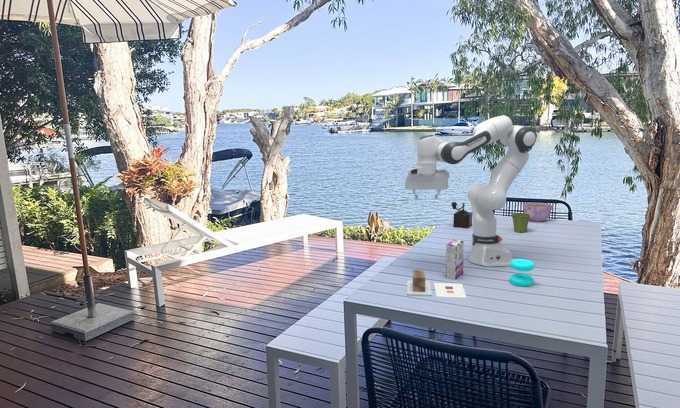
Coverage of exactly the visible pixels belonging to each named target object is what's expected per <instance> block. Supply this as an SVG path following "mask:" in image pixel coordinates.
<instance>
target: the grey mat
mask: <svg viewBox="0 0 680 408" xmlns="http://www.w3.org/2000/svg"><path fill="white" fill-rule="evenodd" d="M432 295H433V294H432V287H431V282H430V280H425V292H417V291H413V280H406V296H409V297H410V296H412V297H413V296H414V297H433V296H432Z"/></svg>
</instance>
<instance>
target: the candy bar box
mask: <svg viewBox="0 0 680 408" xmlns="http://www.w3.org/2000/svg"><path fill="white" fill-rule="evenodd" d="M464 242H465V241H464V239H457V238H454V239H452V240H450V242H448V243H447V244H446V259H445V260H446V267H445V268H446V269H445V271H446V273H445V274H446V277H445V278H446V279H450V280H458V279H459V277H461V276H462V274H464V247H465V246H464V245H465V244H464Z"/></svg>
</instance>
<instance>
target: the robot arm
mask: <svg viewBox="0 0 680 408" xmlns="http://www.w3.org/2000/svg"><path fill="white" fill-rule="evenodd" d="M537 138H538V137H537V132H536V131H535V130H534V129H533V128H531V127H529V126H523V125H518V124H516V125H513V121H512V120H511V118H510V116H508V115H504V114H503V115H498V116H495V117H491V118H489V119H486V120H484V121H481V122H480V123H478V124H477V125H475V126H474V128H473V131H472V136H470V137H469V138H466V139H464V140H463V141H445V140H443V139H440V138H438V137H437V136H436V135H435V134H426V135H423V136H421V137H419V139H418V142H417V162H416V165H417V166H414V167H410V168H408V169H407V173H408V174H407V175H406V177H405V182H404V188H405V189H406V190H408V191H409V190H412V194H413V195H414V199H415V200H418V199H419V195H418V194H416V190H423V191H424V190H426V191H427V190H429V191H430V190H431V191H432V190H435V191H436V190H437V192H436V194H434V200H439V195H440V194H441V191H442V190H448V189H449V178H450V172H449V170H446V169H437V162H440V163H446V164H449V165H457V164H460V163H461V162H462V161H463V160H464V159H465V158H466V157H467V156H468V155H469V154H471V153H473V152H475V151H477V150H479V149H480V148H482V147H484V146H486V145H490V144H493V143H495V142H497V143H498V144H500V145H501V146H503V147H507V151H506V154H505V155H504V156H503V157H502V158H501V159H500V160H499V161H498V163H497V164H496V166H495V167H494V168H493V170H492V171H491V173H490V176H491V177H490V179H489V181H488V183H487V184H474V185H472V186H471V187H469V189H468V191H467V195H466V196H467V198H468V201H469V202H470V203H469V204H470V207H471V212H472V221H473V222H472V226H473V231H472V235H471V245H472V246H471V251H470V252H471V253H470V256H469V259H468V261H469V262H470V263H472V264H475V265H480V266H483V267H487V268H488V267H489V268H490V267H511V266H510V262H511V261H512V260H514V258H513V257H512V255H511V250H510V249H509V248H508V247H507V246H505V245H504V244H503V243H501V242H502V241H503V238H502V237H501V236H500V235H499V234H497V217H496V216H495V213H494V211H499V210H501V209H502V208H503V207H504V206H505V205H506V203H507V193H508V190H509V188H510V186H511V185H512V183H514V181H515V180H516V178H517V177H518V176H519V175H520V173H521V172H522V170H523V169H524V168H525V166H526V165H527V162H528V161H529V158H530V153H529V152H530V151H532V149H533V147H534V146H535V144H536V141H537Z"/></svg>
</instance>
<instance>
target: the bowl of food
mask: <svg viewBox="0 0 680 408" xmlns="http://www.w3.org/2000/svg"><path fill="white" fill-rule="evenodd" d="M553 207H554V205H553V204H550V203H545V202H534V201H533V202H531V201H530V202H524V203H522V209H523V213H526V214H530V215H531V216H530V218H529V221H531V222H537V223H540V222H544V221H546V220H548V218H549V217H550V216H551V212H552V209H553Z"/></svg>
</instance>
